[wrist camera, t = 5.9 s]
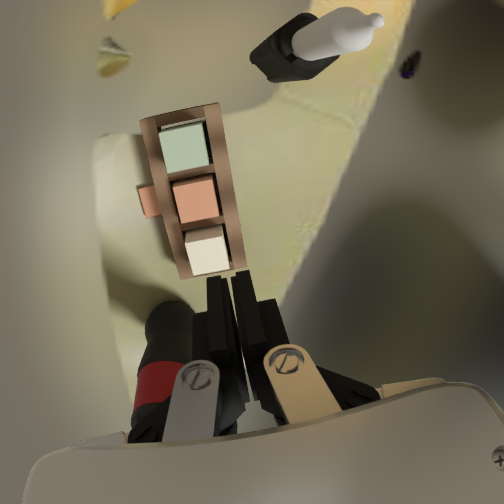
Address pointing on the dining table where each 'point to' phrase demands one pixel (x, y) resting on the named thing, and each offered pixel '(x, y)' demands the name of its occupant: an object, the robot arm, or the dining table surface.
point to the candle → (313, 43)
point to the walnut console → (165, 181)
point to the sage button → (184, 147)
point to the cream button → (206, 249)
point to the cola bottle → (162, 356)
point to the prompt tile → (150, 201)
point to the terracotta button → (196, 198)
